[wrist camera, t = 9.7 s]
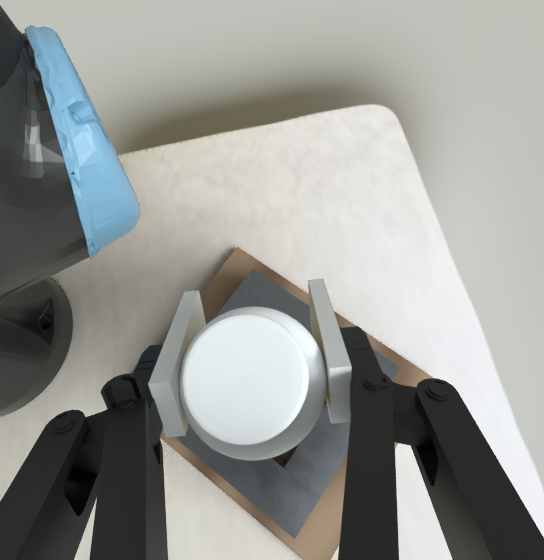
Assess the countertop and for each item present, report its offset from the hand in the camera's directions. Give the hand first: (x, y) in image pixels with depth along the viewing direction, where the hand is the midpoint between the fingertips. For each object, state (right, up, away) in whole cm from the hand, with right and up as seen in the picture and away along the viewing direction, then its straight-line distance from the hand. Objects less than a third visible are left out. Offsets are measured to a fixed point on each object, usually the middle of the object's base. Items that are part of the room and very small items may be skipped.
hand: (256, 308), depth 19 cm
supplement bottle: (+1, -5, +2) cm, 5 cm away
